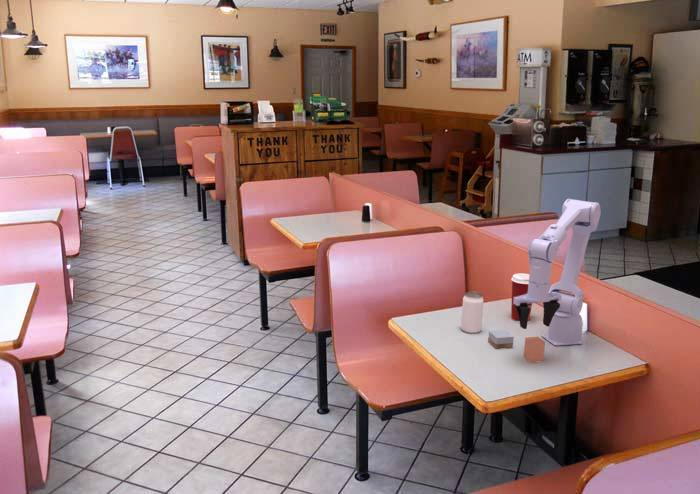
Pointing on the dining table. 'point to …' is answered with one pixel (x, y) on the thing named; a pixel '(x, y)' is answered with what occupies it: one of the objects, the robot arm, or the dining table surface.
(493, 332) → the tower upper
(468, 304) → the can
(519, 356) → the dining table surface
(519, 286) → the coffee cup
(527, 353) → the brick block
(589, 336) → the dining table surface
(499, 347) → the tower lower
